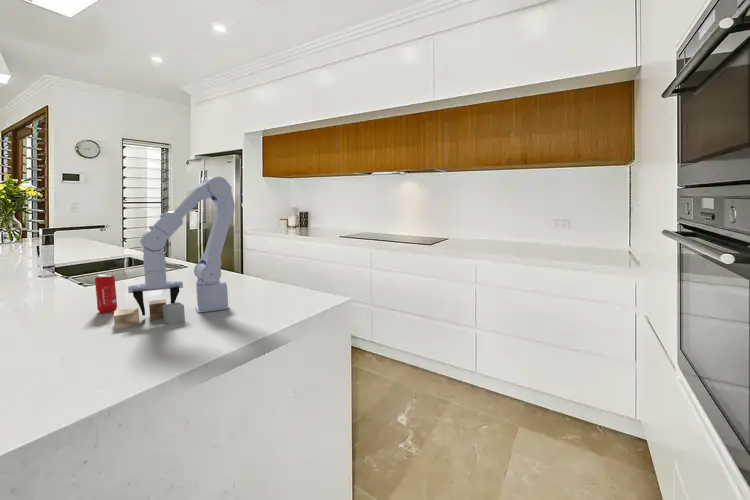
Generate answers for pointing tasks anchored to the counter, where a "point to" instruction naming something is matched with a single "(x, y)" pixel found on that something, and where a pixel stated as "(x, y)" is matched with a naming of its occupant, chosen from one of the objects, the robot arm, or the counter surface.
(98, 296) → the beverage can
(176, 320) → the grey block
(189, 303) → the counter surface
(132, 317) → the maple base
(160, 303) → the walnut block
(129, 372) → the counter surface
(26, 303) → the counter surface
